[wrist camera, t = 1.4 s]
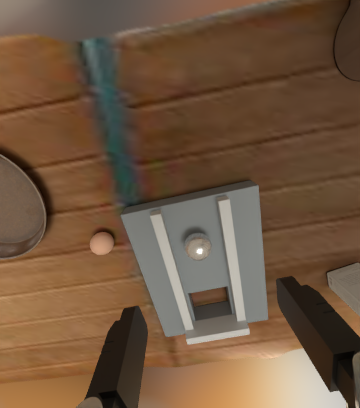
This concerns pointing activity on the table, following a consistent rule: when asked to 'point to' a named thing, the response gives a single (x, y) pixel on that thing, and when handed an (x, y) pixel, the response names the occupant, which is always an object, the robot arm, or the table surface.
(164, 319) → the slate board
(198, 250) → the steel ball
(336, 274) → the skincare box
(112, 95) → the table surface
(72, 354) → the table surface
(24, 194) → the plant saucer
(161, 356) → the table surface
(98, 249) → the terracotta ball
